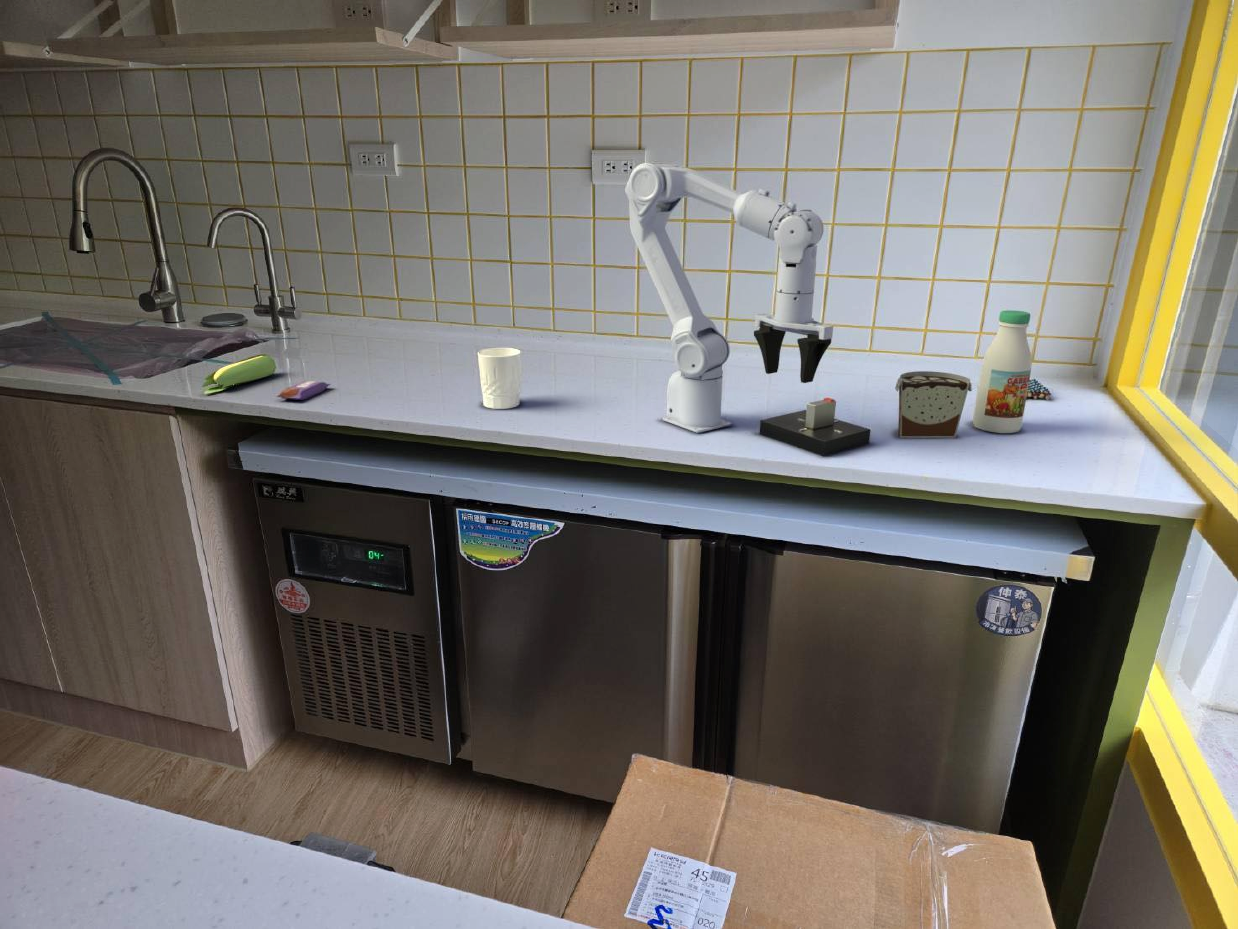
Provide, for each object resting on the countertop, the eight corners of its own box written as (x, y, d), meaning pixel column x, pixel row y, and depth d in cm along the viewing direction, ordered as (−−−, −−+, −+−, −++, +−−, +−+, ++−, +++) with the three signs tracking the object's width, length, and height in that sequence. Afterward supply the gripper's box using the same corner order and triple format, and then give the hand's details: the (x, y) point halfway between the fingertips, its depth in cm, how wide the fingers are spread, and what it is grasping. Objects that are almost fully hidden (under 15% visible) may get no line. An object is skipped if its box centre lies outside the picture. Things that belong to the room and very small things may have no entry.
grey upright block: (813, 429, 132) (815, 404, 130) (804, 426, 133) (806, 401, 131) (834, 424, 134) (836, 399, 133) (825, 421, 136) (827, 397, 134)
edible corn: (284, 374, 175) (281, 353, 174) (215, 397, 157) (211, 374, 156) (264, 372, 177) (261, 351, 175) (193, 395, 159) (189, 371, 157)
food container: (949, 426, 142) (957, 370, 139) (964, 437, 136) (973, 379, 133) (879, 427, 142) (885, 370, 138) (891, 437, 136) (898, 379, 133)
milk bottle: (964, 427, 142) (982, 311, 135) (983, 418, 147) (1001, 306, 140) (1009, 437, 137) (1030, 317, 130) (1027, 427, 142) (1048, 312, 135)
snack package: (308, 377, 164) (331, 379, 163) (309, 387, 165) (332, 388, 164) (274, 391, 154) (298, 393, 153) (275, 401, 154) (299, 403, 153)
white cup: (531, 402, 155) (529, 350, 152) (505, 412, 149) (503, 358, 145) (498, 397, 159) (495, 346, 155) (471, 406, 152) (468, 353, 149)
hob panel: (759, 434, 137) (760, 419, 137) (803, 423, 144) (805, 408, 143) (824, 456, 127) (825, 440, 126) (869, 443, 133) (871, 428, 132)
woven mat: (1052, 400, 159) (1054, 390, 158) (994, 397, 161) (996, 387, 160) (1035, 387, 169) (1037, 377, 168) (981, 385, 170) (982, 375, 170)
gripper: (849, 294, 124) (840, 382, 128) (778, 284, 135) (773, 365, 139) (818, 298, 120) (810, 389, 124) (747, 288, 131) (743, 371, 135)
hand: (788, 377), depth 132 cm, fingers open, 7 cm apart
